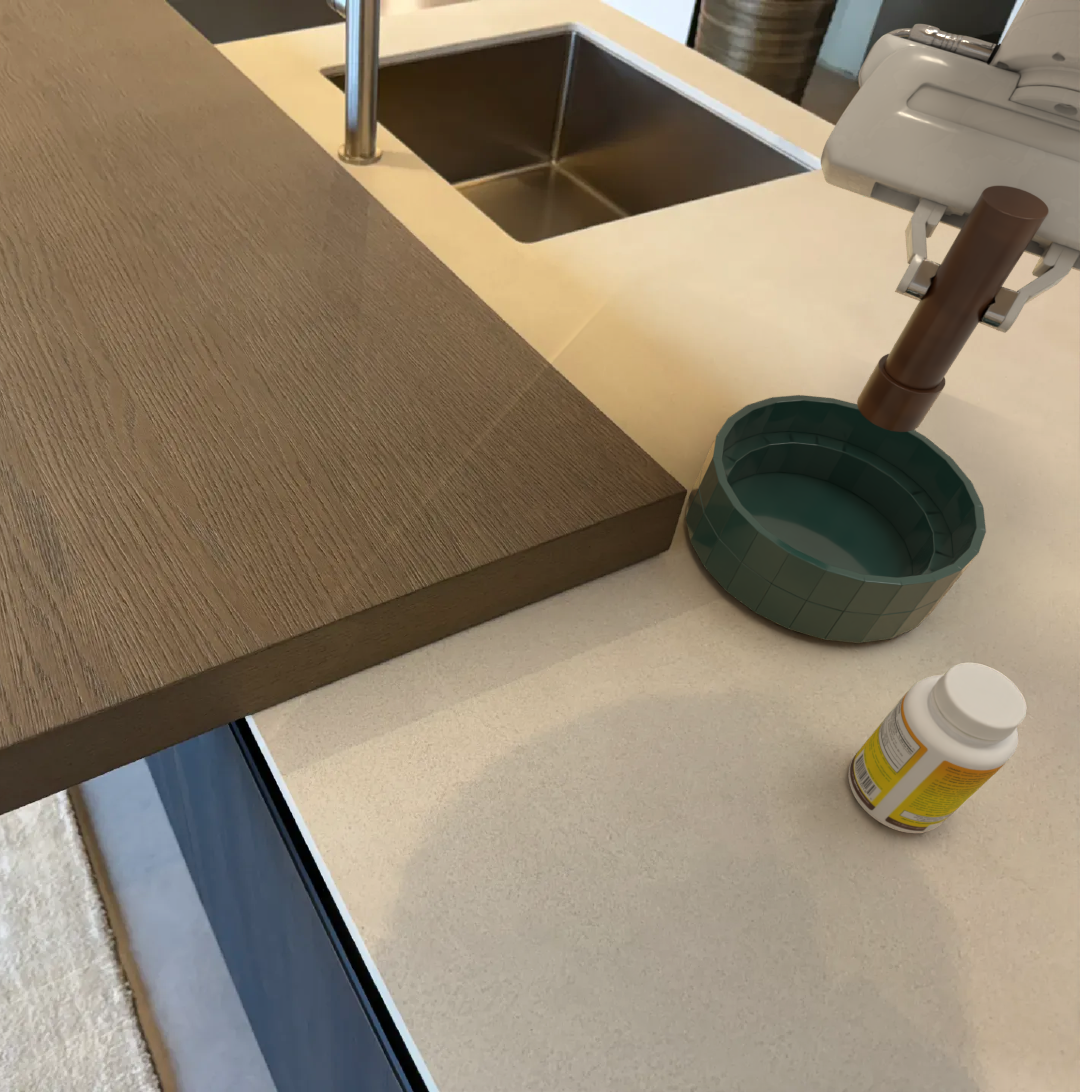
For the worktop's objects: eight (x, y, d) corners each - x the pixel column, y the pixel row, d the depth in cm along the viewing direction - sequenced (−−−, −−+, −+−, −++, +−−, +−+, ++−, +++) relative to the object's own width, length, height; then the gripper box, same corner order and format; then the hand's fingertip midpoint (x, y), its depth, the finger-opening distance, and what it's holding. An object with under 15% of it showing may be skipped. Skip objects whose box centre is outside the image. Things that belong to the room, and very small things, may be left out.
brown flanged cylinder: (927, 407, 63) (1061, 199, 53) (912, 441, 61) (1048, 230, 50) (866, 382, 64) (984, 174, 54) (849, 414, 62) (969, 203, 52)
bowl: (959, 530, 74) (1008, 465, 69) (900, 692, 64) (952, 630, 59) (732, 430, 80) (763, 363, 75) (645, 565, 70) (674, 499, 65)
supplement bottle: (961, 801, 59) (1065, 704, 52) (910, 856, 57) (1011, 763, 49) (877, 733, 62) (964, 631, 54) (824, 783, 59) (908, 683, 52)
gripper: (897, -17, 55) (770, 223, 57) (1332, 104, 48) (1174, 371, 50) (881, 42, 61) (767, 258, 63) (1267, 157, 54) (1127, 395, 56)
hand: (951, 310), depth 56 cm, fingers closed on brown flanged cylinder, 3 cm apart
